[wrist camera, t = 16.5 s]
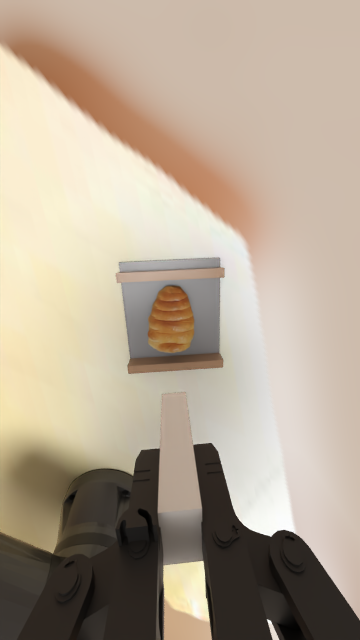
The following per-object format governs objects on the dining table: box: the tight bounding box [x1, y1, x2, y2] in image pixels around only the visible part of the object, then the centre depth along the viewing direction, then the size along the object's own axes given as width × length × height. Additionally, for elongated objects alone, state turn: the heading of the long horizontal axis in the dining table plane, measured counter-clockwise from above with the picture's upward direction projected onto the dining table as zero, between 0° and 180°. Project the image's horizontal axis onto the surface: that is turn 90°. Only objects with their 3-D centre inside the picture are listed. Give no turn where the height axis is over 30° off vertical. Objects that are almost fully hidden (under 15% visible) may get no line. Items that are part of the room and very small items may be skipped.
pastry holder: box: [116, 258, 224, 374], centre depth 31 cm, size 14×17×3 cm
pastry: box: [148, 286, 194, 353], centre depth 30 cm, size 9×7×4 cm
